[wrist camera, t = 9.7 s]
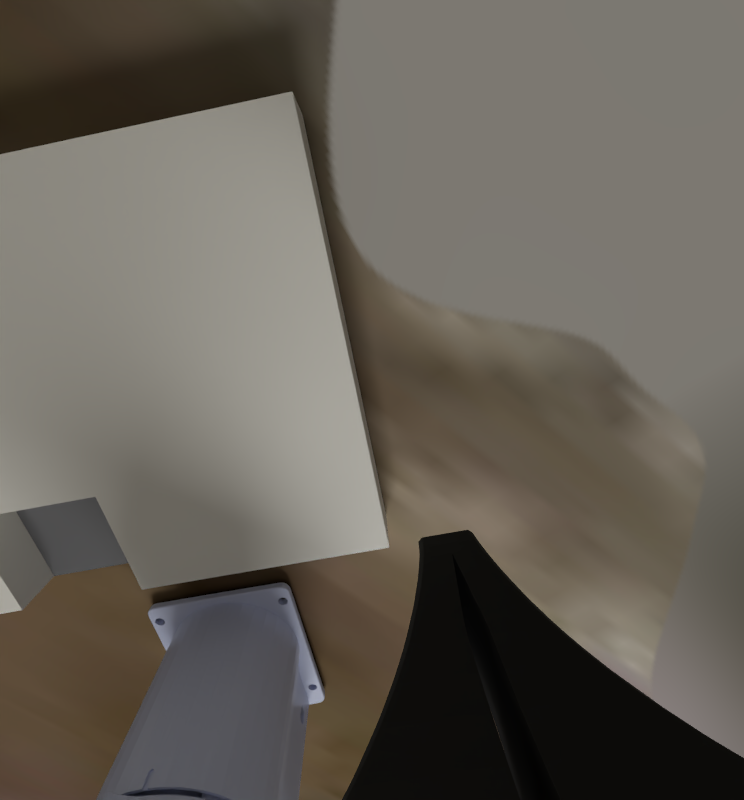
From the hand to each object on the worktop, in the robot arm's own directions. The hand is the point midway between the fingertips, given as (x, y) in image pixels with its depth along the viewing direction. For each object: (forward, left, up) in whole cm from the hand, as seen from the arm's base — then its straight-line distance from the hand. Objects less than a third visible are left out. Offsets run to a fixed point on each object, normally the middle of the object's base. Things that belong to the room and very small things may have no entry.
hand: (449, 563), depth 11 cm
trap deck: (+4, +17, -9) cm, 20 cm away
